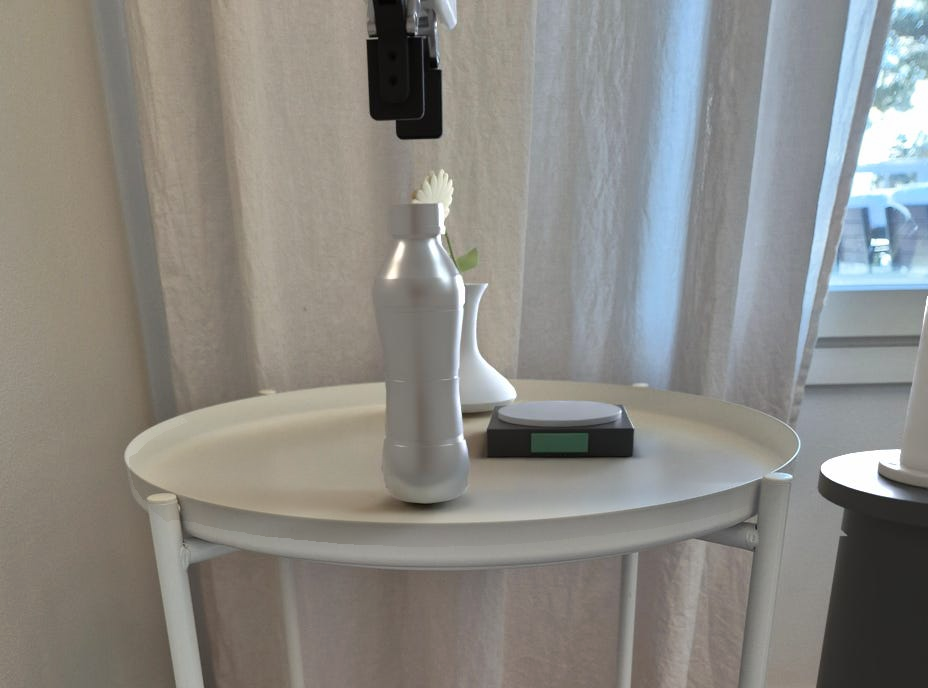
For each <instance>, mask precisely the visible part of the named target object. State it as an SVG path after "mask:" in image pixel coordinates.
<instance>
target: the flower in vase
mask: <svg viewBox="0 0 928 688" xmlns="http://www.w3.org/2000/svg"><path fill="white" fill-rule="evenodd" d="M454 190H455V189H454V186H453V179H452V178H450V179H449V174H448V173H447V172H445V170H444V169H443V168H440V169H439V170H438V172H437V175H436V174H435V171H434V170H430V171H429V172H428V174H427V175H426V176H424V178H422V182H421V184H420V189H417V188H415V189H412V191H411V193H410V199H411V200H410V202H409V204H424V203H433V204H442V207H443V227H445V234H444V236H445V239H446V242H447V247H448V249H449V252H448V251H447V250H446V249H445V251H446V252H447V253H448V255H449V256H450V258H451V259H452V261H453V262H454V264H455V266H456V268H457V270H458V271H459V273H460V275H461V278H462V281H463V285H464V288H465V301H464V304H463V308H464V311H463V321H462V330H461V340H460V363H459V369H458V375H459V395H460V405H461V414H474V413H485V412H491V411H494V408H495V406H508V405H512V404H513V403H514V401H515V400H516V398H517V397H518V396H517V392H516V389H515V387H514V386H513V385H512V384H511V383H510V381H509V380H507V378H506V377H504V375H502V374H501V373H500V372H498V371H497V370H496V369H495V368H494V367H493V366H491V365H490V364H489V363H488V362H487V361H486V360H485V359H484V358H483V356H482V355H481V353H480V351H479V348H478V341H477V321H478V320H477V319H478V311H479V305H480V302H481V299H482V296H483V294H484V292H485V290H486V289H487V287H488V286H489V283H488V282H465V280H464V277H463V272H467V271H469V270H471V269H474V268H477V267H478V265H479V264H480V258H479V253H478V249H477V247H473V248H472V249H471V250H470V251H468V252H467V253H464V254H463V255H461V256H459V257H458V258H456V255H455V252H454V249H453V246H452V242H451V239H450V235H449V233H448V231H447V228H446V225H445V219H447V217H448V216H449V214H450V208H449V207H450V206H451V204H452V201H453V196H452V195H453V194H454Z"/></svg>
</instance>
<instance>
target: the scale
mask: <svg viewBox="0 0 928 688" xmlns="http://www.w3.org/2000/svg"><path fill="white" fill-rule="evenodd" d="M492 411H493V412H492V413H491V417H490V420H489V422H488V425H487V429H486V457H487V458H515V457H516V458H530V457H531V458H534V457H535V458H537V457H543V458H544V457H545V458H549V457H550V458H552V457H554V458H557V457H559V458H560V457H562V458H563V457H564V458H567V457H569V458H570V457H571V458H573V457H574V458H576V457H579V458H580V457H581V458H582V457H583V458H585V457H586V458H587V457H590V458H591V457H634V440H635V439H634V438H635V428H634V426H633V423H632V421H631V418H630V417H629V414H628V412H627V410H626V408H625V406H624V404H611V403H607V402H606V403H605V402H599V401H591V400H576V399H575V400H571V399H569V400H566V399H564V400H563V399H556V400H555V399H554V400H553V399H551V400H535V401H525V402H518V403H511V404H509V405H507V406H495V408H494V410H492Z"/></svg>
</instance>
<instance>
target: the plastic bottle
mask: <svg viewBox="0 0 928 688" xmlns="http://www.w3.org/2000/svg"><path fill="white" fill-rule="evenodd" d="M443 223H444V222H443V207H442V204H433V203H424V204H410V203H400V204H399V203H398V204H391V205H388V228H387V236H391V237H392V242H391V247H390V249H389V251H388V252H387V254H386V256H385V257H384V259H383V261H382V262H381V264H380V266H379V268H378V270H377V272H376V274H375V277H374V278H373V279H374V280H373V283H372V284H373V285H372V290H371V296H372V305H373V307H374V315H375V320H376V327H377V331H378V337H379V342H380V347H381V357H382V365H383V371H384V375H385V377H384V385H385V386H384V387H385V421H384V422H385V424H384V425H385V427H384V429H385V430H384V434H385V438H384V440H383V445H382V455H381V456H382V457H381V472H382V476H383V481H384V485H385V488H386V489H387V491H388V492H389V494H390V495H391V497H392V498H394V499H396V500H397V501H401V502H406V503H414V504H422V505H429V504H430V505H431V504H436V503H441V502H448V501H452V500H456V499H457V498H459V497H461V496H462V495H463V493H464V491H465V490H466V488H467V486H468V483H469V475H470V468H471V464H470V456H469V449H468V445H467V440H466V437H465V436H464V425H463V424H464V423H463V415H462V414H463V413H461V405H460V395H459V375H458V369H459V363H460V340H461V330H462V321H463V311H464V308H463V304H464V301H465V288H464V285H463V281H462V278H461V275H460V273H459V271H458V270H457V268H456V266H455V264H454V262H453V259H452V258H450V256H449V255H448V253H449V252H448V251H447V250H446V249H445V248H444V246H443V243H442V239H441V237H442V235H445V227H446V226H445V227H443ZM445 250H446V251H447V252H448V253H447V252H446V251H445Z"/></svg>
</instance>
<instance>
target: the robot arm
mask: <svg viewBox="0 0 928 688" xmlns="http://www.w3.org/2000/svg"><path fill="white" fill-rule="evenodd" d="M363 1H364V3H365V5H366V6H367V10H366V30H367V36H368V38H369V39H365V40H366V44H365V45H366V61H367V62H366V63H367V85H368V86H367V87H368V109H369V110H368V111H369V116H370V118H371V119H372V120H374V121H376V122H386V121H387V122H389V121H390V122H391V121H392V122H393V121H395V135H396V137H397V138H398V139H399V140H401V141H414V140H415V141H416V140H440V139H441V138H442V137H443V135H444V111H443V110H444V108H443V104H444V103H443V70H442V69H441V58H440V57H441V56H440V46H439V45H440V44H439V34H438V33H439V32H438V22H439V23H440V24H442V25H443V26H444V28H445V30H446V31H453V29H454V28H455V27H456V26H457V23H458V13H457V12H458V11H457V10H458V9H457V8H458V7H457V0H363ZM437 19H438V20H437ZM923 315H924V316H923V321H922V326H921V332H920V336H919V337H920V338H919V342H918V349H917V353H916V359H915V364H914V371H913V377H912V382H911V388H910V394H909V399H908V404H907V410H906V416H905V421H904V426H903V432H902V438H901V443H900V448H899V450H900V451H896V452H892V453H888V454H885V455H883V456H882V457H881V458H879V462H878V467H877V470H878V472H879V473H880V474H881V475H882V476H884V477H886V478H888V479H890V480H893V481H896V482H899V483H903V484H907V485H911V486H916V487H921V488H927V489H928V297H926V304H925V309H924V314H923Z"/></svg>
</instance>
